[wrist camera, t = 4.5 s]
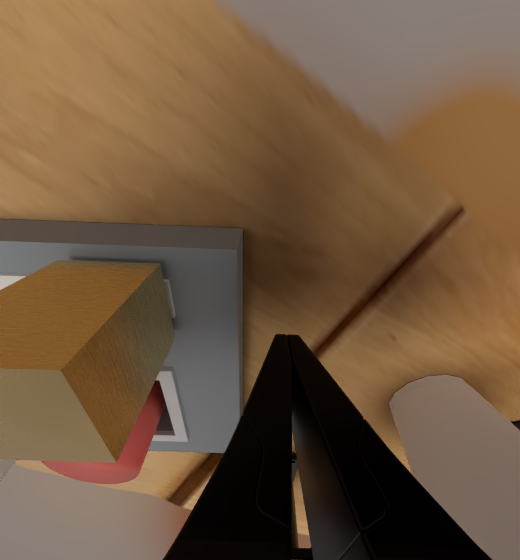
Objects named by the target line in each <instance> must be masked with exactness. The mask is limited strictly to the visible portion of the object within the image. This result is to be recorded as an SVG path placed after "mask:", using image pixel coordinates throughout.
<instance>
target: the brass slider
mask: <svg viewBox="0 0 520 560" xmlns="http://www.w3.org/2000/svg"><path fill="white" fill-rule="evenodd" d="M174 340H175V334H174V329H173V325H172V320H171V315H170V310H169V305H168V300H167V295H166V290H165V286H164V281H163V276H162V271H161V266H160V264H159V263H132V262H105V261H78V260H57V261H55V262H53V263H51V264H49V265H47V266H45V267H43V268H42V269H40V270H38V271H36V272H34V273H32V274H30V275H28V276H26V277H24V278H22V279H20V280H19V281H17V282H15V283H13V284H11V285H9V286H7V287H5V288H3V289H1V290H0V459H6V460H39V461H72V462H106V463H117V461H118V459H119V457H120V454H121V452H122V450H123V448H124V446H125V444H126V442H127V440H128V437H129V435H130V433H131V431H132V429H133V427H134V425H135V423H136V421H137V418H138V416H139V414H140V412H141V410H142V408H143V406H144V404H145V401H146V399H147V397H148V395H149V393H150V391H151V389H152V387H153V385H154V382H155V380H156V378H157V376H158V374H159V372H160V370H161V368H162V365H163V363H164V361H165V359H166V357H167V355H168V353H169V351H170V349H171V346H172V344H173V342H174Z"/></svg>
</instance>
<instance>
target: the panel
mask: <svg viewBox="0 0 520 560" xmlns="http://www.w3.org/2000/svg"><path fill="white" fill-rule="evenodd" d="M57 260H78V261H105V262H132V263H159V264H160V266H161V271H162V276H163V281H164V286H165V290H166V295H167V300H168V305H169V310H170V315H171V320H172V325H173V329H174V334H175V340H174V342H173V344H172V346H171V349H170V351H169V353H168V355H167V357H166V359H165V361H164V363H163V365H162V368H161V370H160V372H159V374H158V376H157V378H156V380H159V381H160V384H161V388H162V391H163V395H164V398H165V401H166V405H165V408H164V410H163V413H162V416H161V418H160V421H159V423H158V426H157V428H156V431H155V434H154V436H153V439H152V441H151V444H150V447H149V449H148V451H176V452H209V453H224V452H225V450H226V448H227V446H228V444H229V442H230V440H231V438H232V436H233V433H234V431H235V429H236V427H237V424H238V422H239V420H240V417H241V416H242V413H243V228H226V227H200V226H174V225H148V224H122V223H96V222H70V221H43V220H17V219H0V290H1V289H3V288H5V287H7V286H9V285H11V284H13V283H15V282H17V281H19V280H20V279H22V278H24V277H26V276H28V275H30V274H32V273H34V272H36V271H38V270H40V269H42V268H43V267H45V266H47V265H49V264H51V263H53V262H55V261H57Z"/></svg>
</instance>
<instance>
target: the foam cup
mask: <svg viewBox="0 0 520 560" xmlns="http://www.w3.org/2000/svg"><path fill="white" fill-rule="evenodd" d="M389 405H390V410H391V413H392V415H393V420H394V423H395V426H396V428H397V431H398V434H399V437H400V440H401V443H402V445H403V448H404V451H405V454H406V457H407V459H408V462H409V465H410V468H411V471H412V474H413V476H414V477H415V478H416V479H417V480H418V482H419V483H420V484H421V485H422V486H423V487H424V488H425V489H426V490H427V491H428V492H429V493H430V495H431V496H432V497H433V498H434V499H435V500H436V501H437V502H438V503H439V504H440V505H441V506H442V508H443V509H444V510H445V511H446V512H447V513H448V514H449V515H450V516H451V517H452V518H453V519H454V521H455V522H456V523H457V524H458V525H459V526H460V527H461V528H462V529H463V530H464V531H465V532H466V534H467V535H468V536H469V537H470V538H471V539H472V540H473V541H474V542H475V543H476V544H477V545H478V546H479V547H480V548H481V549H482V550H483V551H484V552H485V553H486V554H487V555H488V556H489V557H490V558H491V559H492V560H520V430H519V429H518V428H517V427H515V426H514V425H513V424H512V423H511V422H510V421H509V420H508V419H507V418H506V417H504V416H503V415H502V414H501V413H500V412H499V411H498V410H497V409H496V408H494V407H493V406H492V405H491V404H490V403H489V402H488V401H487V400H486V399H485V398H483V397H482V396H481V395H480V394H479V393H478V392H477V391H476V390H475V389H473V388H472V387H471V386H470V385H468V384H467V383H466V382H465V381H464V380H463V379H462V378H459V377H454V376H450V375H437V376H427V377H424V378H421V379H418V380H415V381H413V382H410V383H408V384H406V385H405V386H404V387H402V388H401V389H399V390H398V391H397V392H395V393H394V395H393V397H392V399H391V400H390V402H389Z"/></svg>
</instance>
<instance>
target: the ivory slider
mask: <svg viewBox="0 0 520 560" xmlns="http://www.w3.org/2000/svg"><path fill="white" fill-rule="evenodd" d="M16 461H17V460H6V459H0V481H1V479H2V478H3V477H4V476H5V474H6V473H7V472H8V471H9V469H10V468H11V467H12V466H13V464H14V463H15V462H16Z"/></svg>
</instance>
